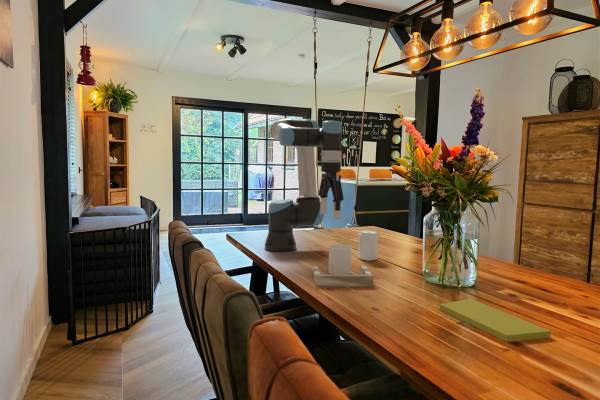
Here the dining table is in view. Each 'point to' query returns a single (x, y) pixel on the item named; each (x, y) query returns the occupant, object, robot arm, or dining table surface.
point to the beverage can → (368, 245)
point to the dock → (343, 278)
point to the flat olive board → (494, 321)
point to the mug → (339, 259)
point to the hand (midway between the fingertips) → (329, 216)
